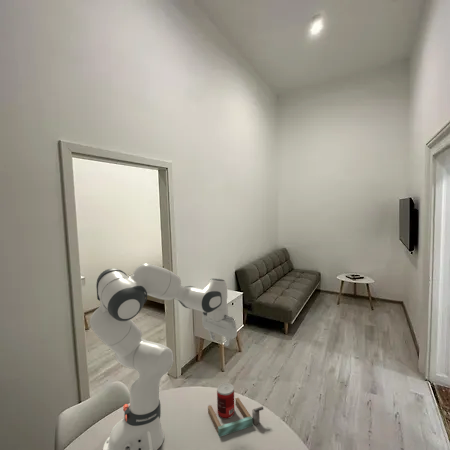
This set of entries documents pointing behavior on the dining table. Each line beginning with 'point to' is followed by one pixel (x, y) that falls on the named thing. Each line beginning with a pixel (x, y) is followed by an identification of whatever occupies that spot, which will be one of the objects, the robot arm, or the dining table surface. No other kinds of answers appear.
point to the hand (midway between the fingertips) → (219, 342)
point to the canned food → (225, 400)
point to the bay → (238, 424)
